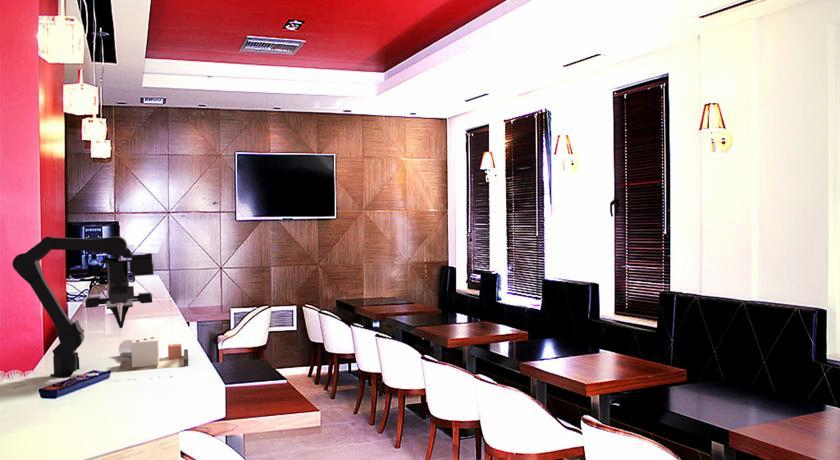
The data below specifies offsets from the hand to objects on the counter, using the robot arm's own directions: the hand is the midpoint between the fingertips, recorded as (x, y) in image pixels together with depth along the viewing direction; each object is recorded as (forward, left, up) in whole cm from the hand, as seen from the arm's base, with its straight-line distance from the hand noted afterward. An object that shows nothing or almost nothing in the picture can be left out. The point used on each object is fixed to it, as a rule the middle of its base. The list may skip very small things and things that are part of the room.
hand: (121, 328), depth 218 cm
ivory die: (+4, -5, -12) cm, 13 cm away
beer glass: (+15, +13, -10) cm, 23 cm away
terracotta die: (+15, -7, -12) cm, 20 cm away
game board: (+6, -7, -13) cm, 16 cm away
